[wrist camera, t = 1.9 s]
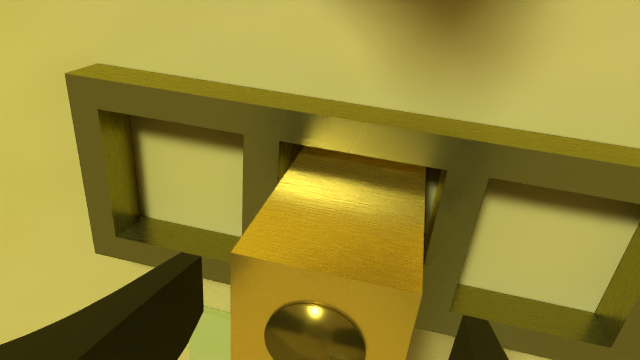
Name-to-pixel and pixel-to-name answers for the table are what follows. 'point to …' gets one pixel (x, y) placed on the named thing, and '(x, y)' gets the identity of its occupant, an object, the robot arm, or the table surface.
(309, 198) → the yellow rectangular block
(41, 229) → the table surface
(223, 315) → the mat
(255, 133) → the olive rectangular frame
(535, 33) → the table surface
